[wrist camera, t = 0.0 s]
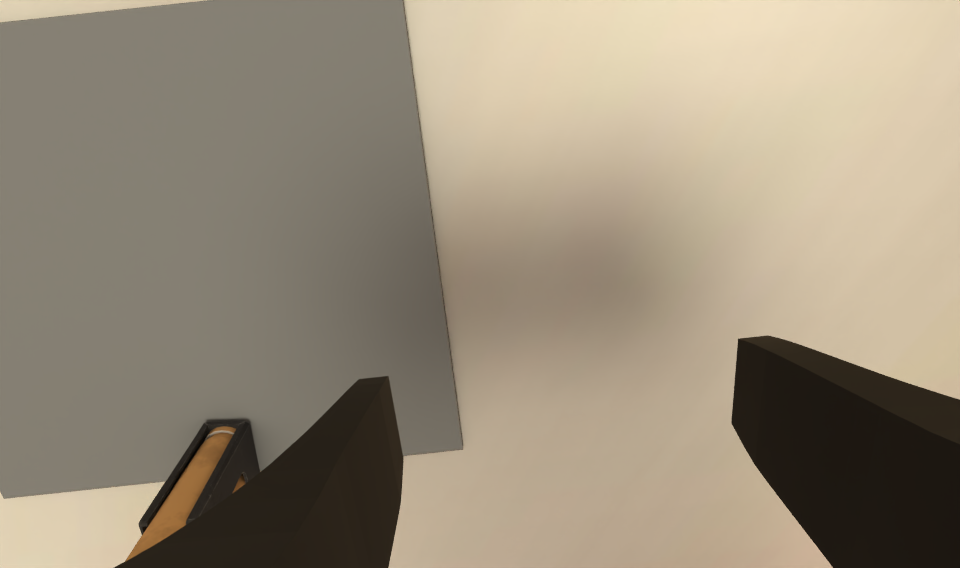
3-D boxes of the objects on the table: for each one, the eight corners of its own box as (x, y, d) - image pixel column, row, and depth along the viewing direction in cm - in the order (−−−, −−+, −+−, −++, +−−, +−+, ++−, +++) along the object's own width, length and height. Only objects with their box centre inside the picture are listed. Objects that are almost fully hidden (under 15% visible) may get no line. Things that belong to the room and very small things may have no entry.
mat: (462, 445, 23) (462, 449, 23) (9, 493, 23) (4, 498, 23) (400, -19, 17) (399, -20, 17) (-221, 47, 17) (-232, 47, 17)
